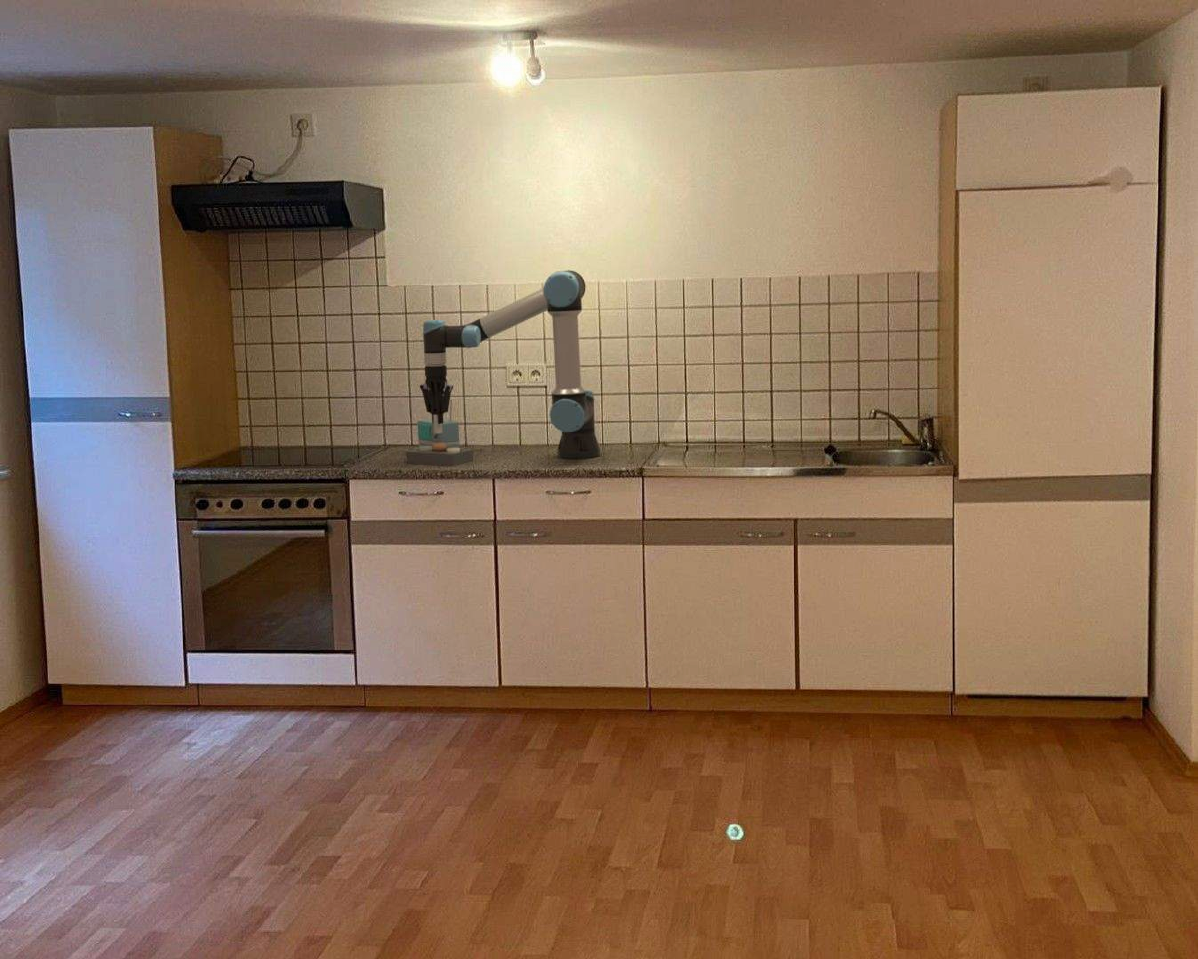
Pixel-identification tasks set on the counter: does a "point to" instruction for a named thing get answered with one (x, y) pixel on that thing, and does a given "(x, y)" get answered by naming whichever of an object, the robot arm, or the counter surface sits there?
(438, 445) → the button terracotta
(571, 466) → the counter surface
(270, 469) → the counter surface
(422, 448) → the button sage
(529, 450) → the counter surface
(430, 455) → the grey piece
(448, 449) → the button ivory
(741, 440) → the counter surface
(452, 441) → the radio
